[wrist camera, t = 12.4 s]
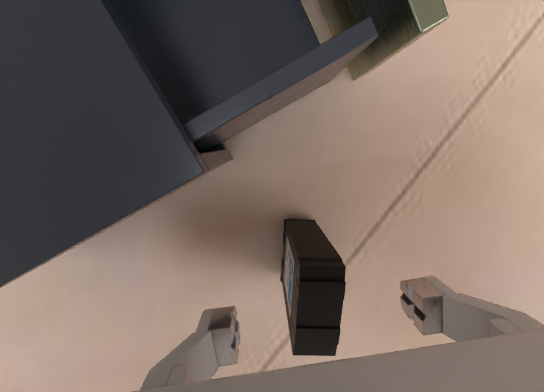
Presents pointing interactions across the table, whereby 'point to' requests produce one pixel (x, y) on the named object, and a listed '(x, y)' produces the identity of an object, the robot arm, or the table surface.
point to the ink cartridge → (312, 288)
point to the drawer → (261, 52)
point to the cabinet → (80, 131)
